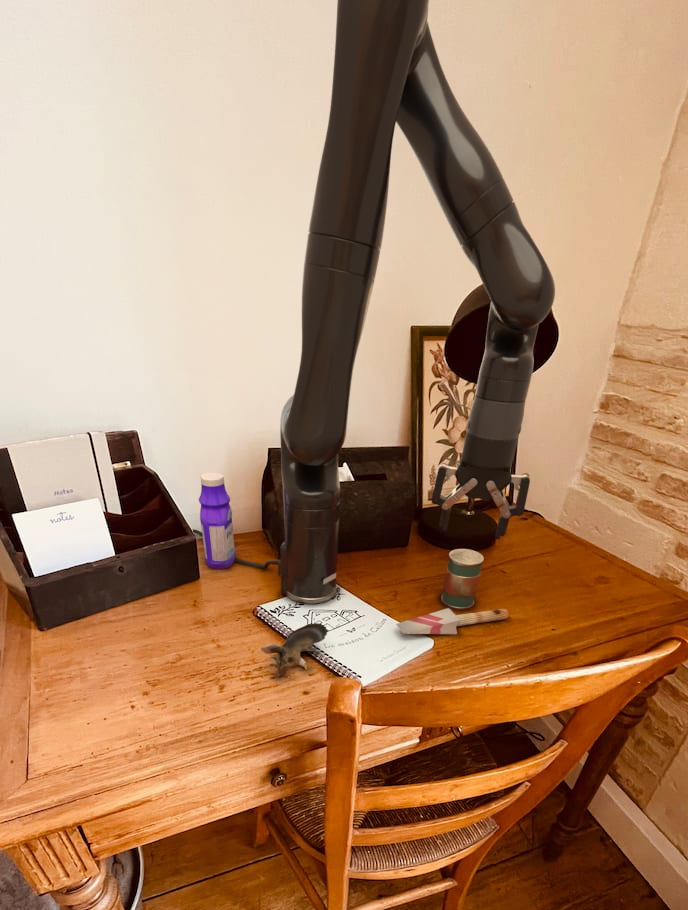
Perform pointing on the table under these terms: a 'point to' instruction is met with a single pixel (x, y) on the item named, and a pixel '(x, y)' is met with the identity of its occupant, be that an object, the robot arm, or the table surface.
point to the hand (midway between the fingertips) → (470, 533)
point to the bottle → (216, 521)
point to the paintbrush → (448, 621)
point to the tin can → (461, 579)
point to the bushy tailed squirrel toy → (296, 646)
